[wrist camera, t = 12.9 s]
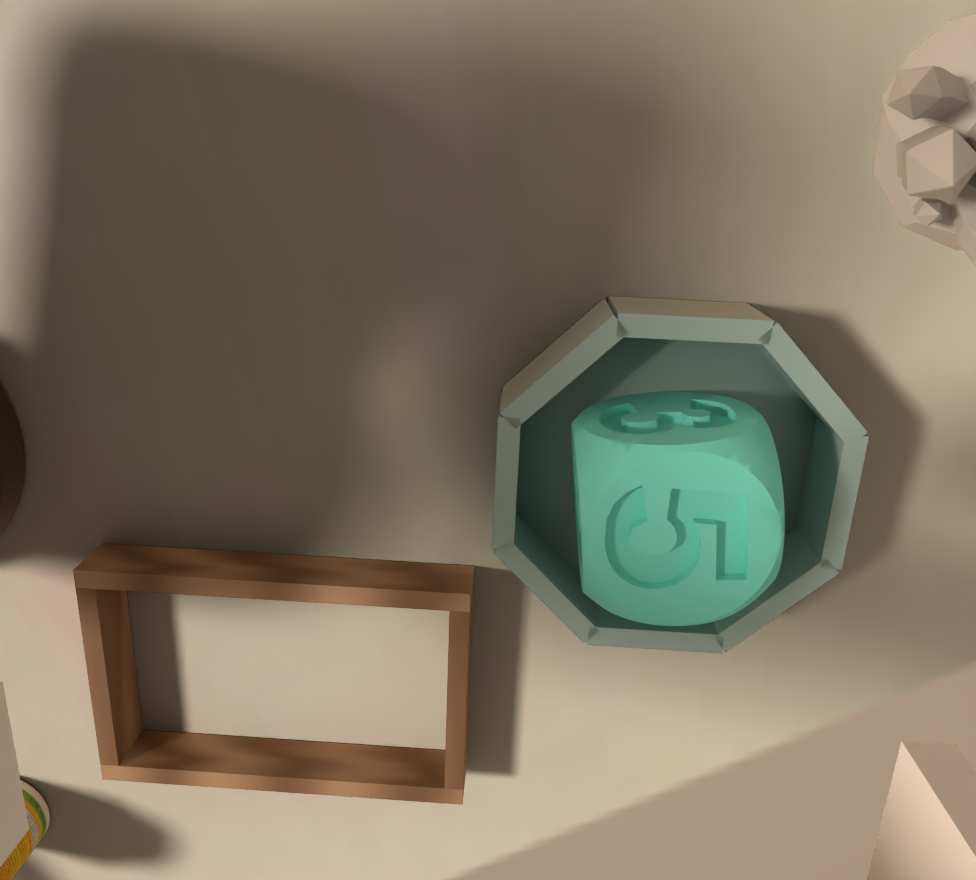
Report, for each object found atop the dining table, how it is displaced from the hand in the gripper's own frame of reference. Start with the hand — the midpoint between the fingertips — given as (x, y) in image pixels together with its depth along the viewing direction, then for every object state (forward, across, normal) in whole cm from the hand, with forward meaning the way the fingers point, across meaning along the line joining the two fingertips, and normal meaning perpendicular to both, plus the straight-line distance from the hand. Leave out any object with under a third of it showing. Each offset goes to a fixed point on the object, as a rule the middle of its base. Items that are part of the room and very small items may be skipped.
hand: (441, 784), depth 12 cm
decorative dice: (+28, +8, -5) cm, 30 cm away
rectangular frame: (+29, -11, -18) cm, 36 cm away
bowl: (+29, +8, -5) cm, 30 cm away
